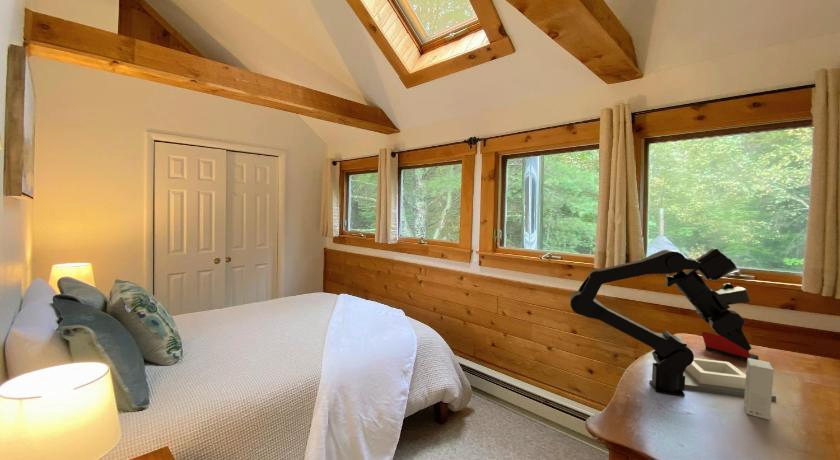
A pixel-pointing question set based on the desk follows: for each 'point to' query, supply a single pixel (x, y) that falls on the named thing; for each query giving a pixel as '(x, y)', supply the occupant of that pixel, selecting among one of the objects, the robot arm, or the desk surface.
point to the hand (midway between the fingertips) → (742, 343)
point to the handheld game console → (725, 347)
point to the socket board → (715, 377)
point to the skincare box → (758, 388)
